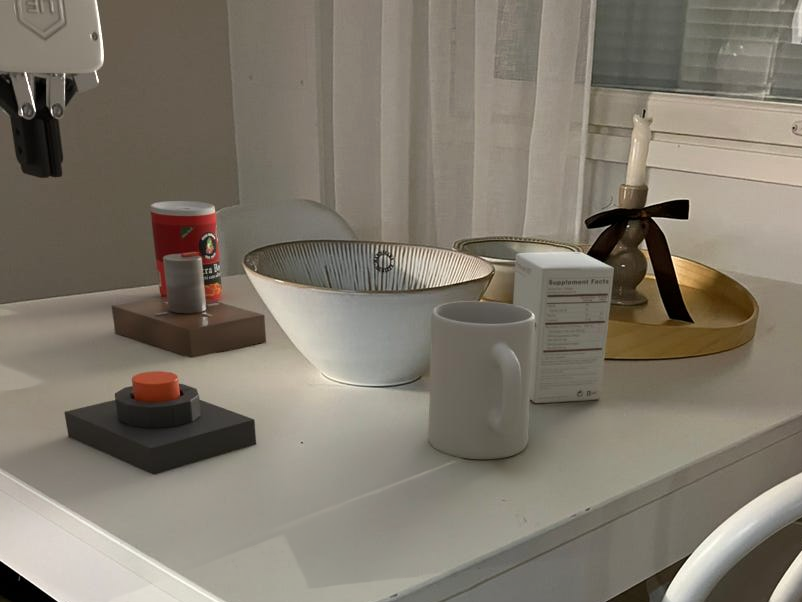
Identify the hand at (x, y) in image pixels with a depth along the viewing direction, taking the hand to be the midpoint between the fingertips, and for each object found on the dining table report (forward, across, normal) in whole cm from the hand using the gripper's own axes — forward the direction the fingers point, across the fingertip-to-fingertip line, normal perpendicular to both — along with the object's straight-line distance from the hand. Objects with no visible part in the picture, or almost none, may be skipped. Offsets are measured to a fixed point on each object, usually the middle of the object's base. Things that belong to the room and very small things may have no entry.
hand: (42, 174), depth 79 cm
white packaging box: (+19, +38, -24) cm, 49 cm away
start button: (+16, +2, -10) cm, 18 cm away
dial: (+17, +24, +16) cm, 34 cm away
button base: (+19, +2, -10) cm, 22 cm away
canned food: (+20, +36, +32) cm, 53 cm away
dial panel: (+20, +24, +16) cm, 35 cm away
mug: (+19, +20, -30) cm, 40 cm away
